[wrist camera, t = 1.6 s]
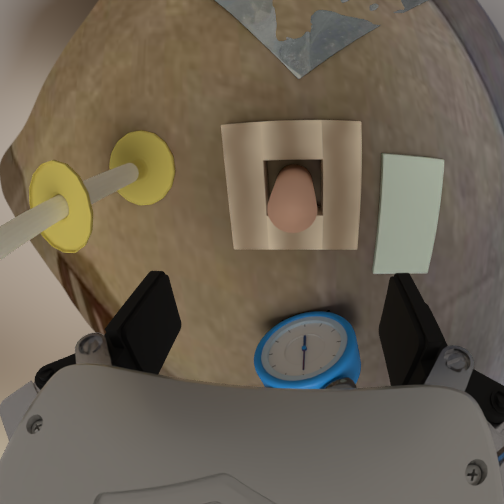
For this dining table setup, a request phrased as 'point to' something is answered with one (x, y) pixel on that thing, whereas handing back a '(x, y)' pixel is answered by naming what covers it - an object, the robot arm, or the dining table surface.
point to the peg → (293, 200)
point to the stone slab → (311, 43)
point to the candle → (89, 193)
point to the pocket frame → (289, 148)
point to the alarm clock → (309, 353)
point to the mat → (407, 213)
